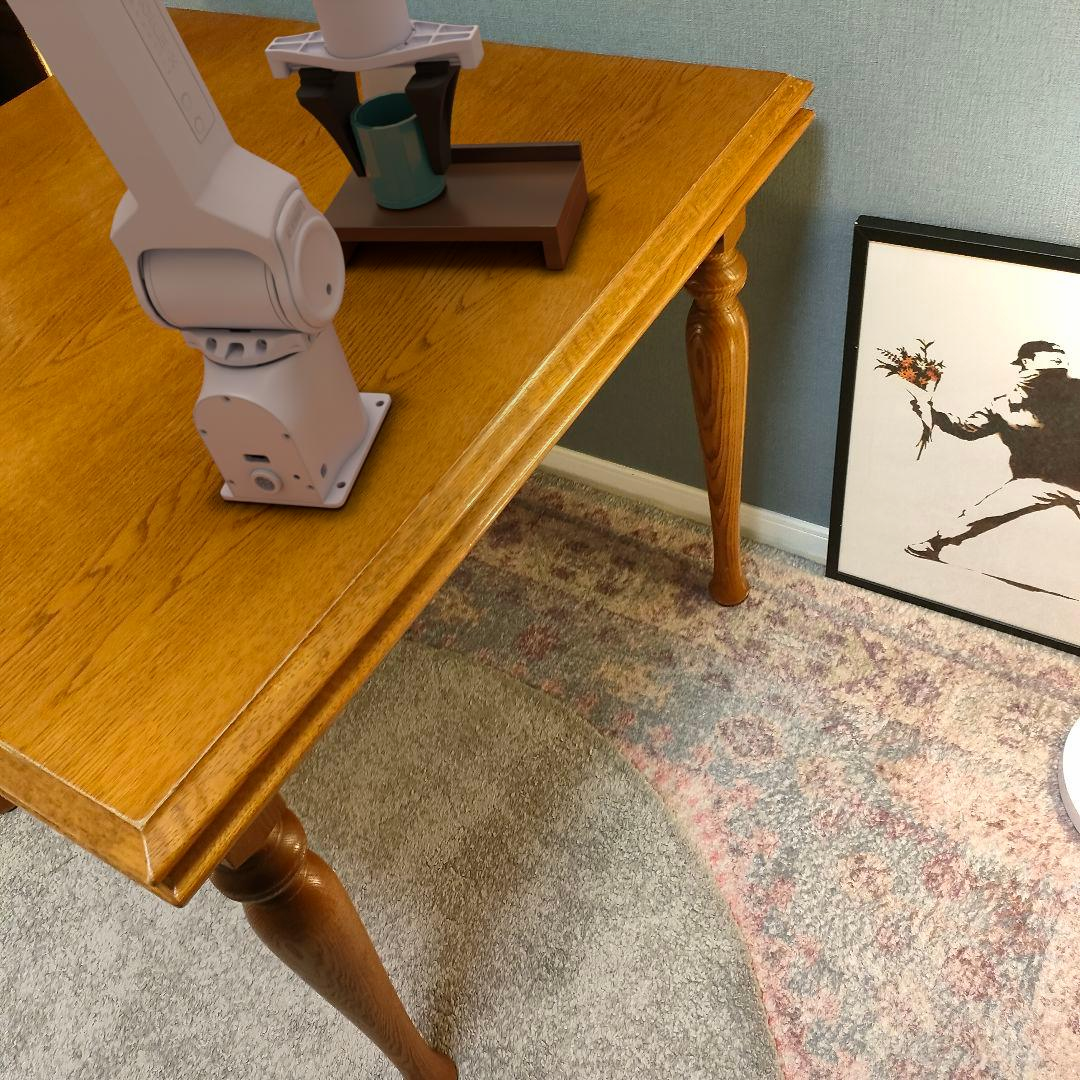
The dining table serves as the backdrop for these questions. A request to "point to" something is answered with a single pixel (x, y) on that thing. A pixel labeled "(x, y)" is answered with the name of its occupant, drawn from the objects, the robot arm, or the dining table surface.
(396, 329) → the dining table surface
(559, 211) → the shelf
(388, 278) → the dining table surface
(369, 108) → the cup
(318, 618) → the dining table surface
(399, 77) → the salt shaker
